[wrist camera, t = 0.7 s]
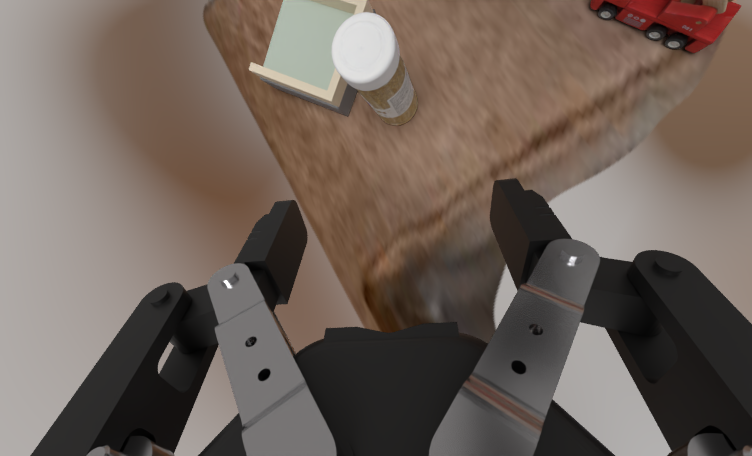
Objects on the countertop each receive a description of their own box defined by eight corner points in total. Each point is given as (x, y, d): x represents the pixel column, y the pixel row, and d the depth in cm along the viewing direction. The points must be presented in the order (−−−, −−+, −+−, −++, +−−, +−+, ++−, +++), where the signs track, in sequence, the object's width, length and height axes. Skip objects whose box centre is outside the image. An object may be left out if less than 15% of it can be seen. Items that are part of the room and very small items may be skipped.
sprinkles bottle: (369, 109, 34) (316, 55, 21) (396, 74, 33) (357, -6, 20) (399, 135, 33) (364, 96, 20) (428, 101, 32) (409, 36, 19)
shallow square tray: (303, 1, 35) (278, -31, 30) (381, 26, 33) (368, -4, 28) (275, 88, 36) (248, 71, 32) (348, 116, 35) (330, 103, 30)
